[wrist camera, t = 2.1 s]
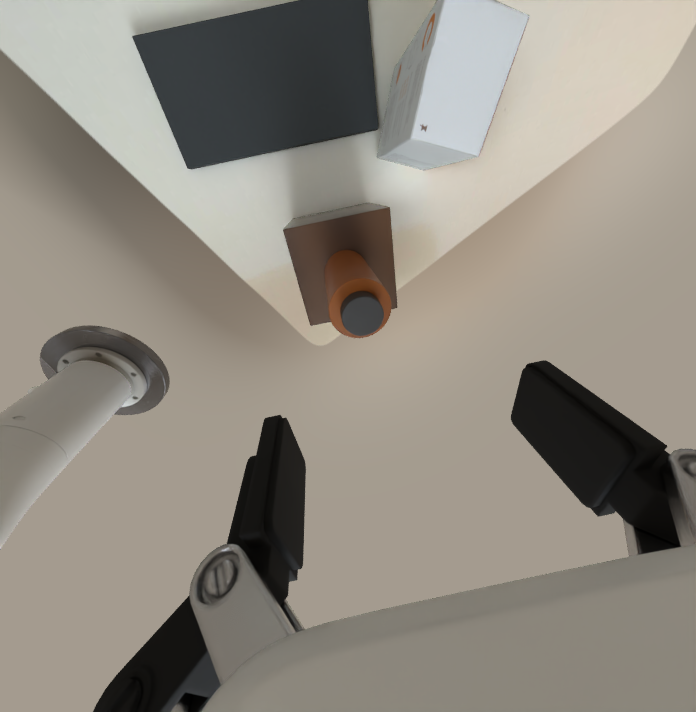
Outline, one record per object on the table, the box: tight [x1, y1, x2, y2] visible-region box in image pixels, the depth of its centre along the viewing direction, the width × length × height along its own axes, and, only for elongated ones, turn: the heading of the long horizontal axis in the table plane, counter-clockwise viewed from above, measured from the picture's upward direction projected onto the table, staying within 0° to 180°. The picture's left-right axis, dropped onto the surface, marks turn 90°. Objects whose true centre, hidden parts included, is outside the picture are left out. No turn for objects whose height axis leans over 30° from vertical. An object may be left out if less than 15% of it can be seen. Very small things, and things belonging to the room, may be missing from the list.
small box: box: [377, 0, 529, 170], centre depth 24 cm, size 8×6×13 cm
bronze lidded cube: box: [283, 203, 397, 326], centre depth 31 cm, size 10×10×12 cm
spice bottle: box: [324, 250, 391, 338], centre depth 21 cm, size 4×4×11 cm
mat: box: [132, 0, 378, 169], centre depth 27 cm, size 22×10×1 cm, turn 100°
